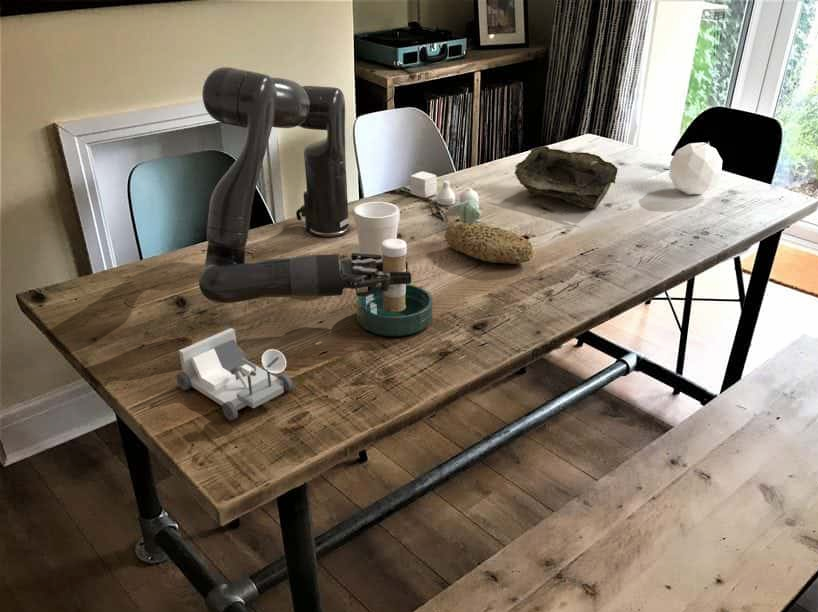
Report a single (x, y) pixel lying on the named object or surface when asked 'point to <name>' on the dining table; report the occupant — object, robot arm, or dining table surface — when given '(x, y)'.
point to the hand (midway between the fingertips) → (408, 271)
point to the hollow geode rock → (566, 175)
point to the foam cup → (375, 225)
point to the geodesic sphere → (695, 168)
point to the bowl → (396, 323)
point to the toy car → (231, 373)
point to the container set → (427, 186)
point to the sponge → (489, 243)
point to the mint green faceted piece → (468, 211)
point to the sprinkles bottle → (394, 262)
